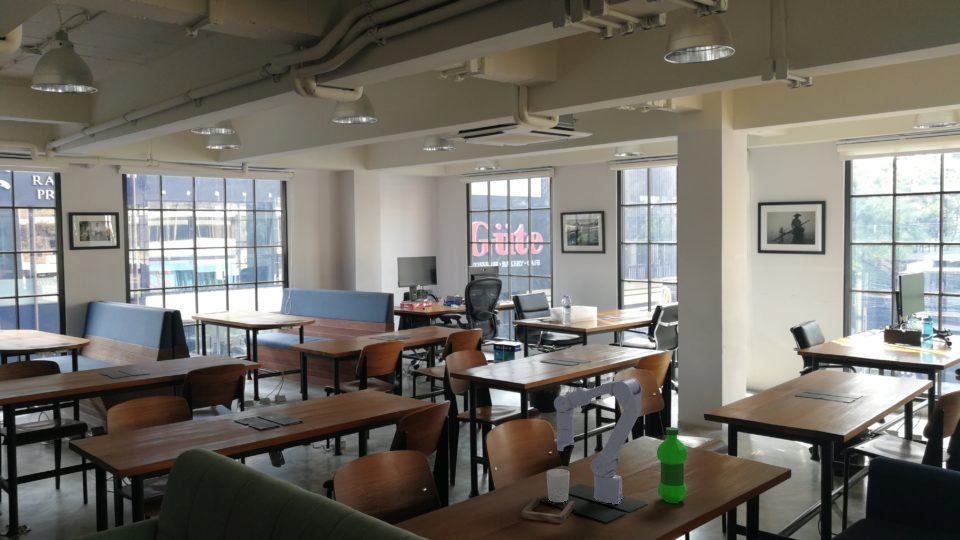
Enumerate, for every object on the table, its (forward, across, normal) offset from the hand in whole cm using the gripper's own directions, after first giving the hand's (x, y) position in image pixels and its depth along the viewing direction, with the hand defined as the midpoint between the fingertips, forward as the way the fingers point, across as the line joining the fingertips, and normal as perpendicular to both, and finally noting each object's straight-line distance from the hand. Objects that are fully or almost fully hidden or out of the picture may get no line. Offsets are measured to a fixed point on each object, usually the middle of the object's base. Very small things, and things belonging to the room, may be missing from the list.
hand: (565, 465), depth 277 cm
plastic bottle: (+10, -3, +37) cm, 38 cm away
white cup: (+10, +10, 0) cm, 14 cm away
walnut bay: (+9, +22, 0) cm, 23 cm away
